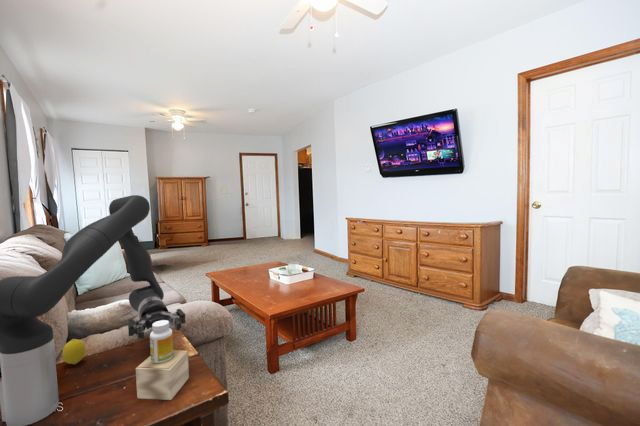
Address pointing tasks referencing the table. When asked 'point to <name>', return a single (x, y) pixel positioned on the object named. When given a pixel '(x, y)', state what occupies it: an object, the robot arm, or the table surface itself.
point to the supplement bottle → (161, 342)
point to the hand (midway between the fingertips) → (161, 331)
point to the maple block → (162, 377)
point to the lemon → (73, 351)
